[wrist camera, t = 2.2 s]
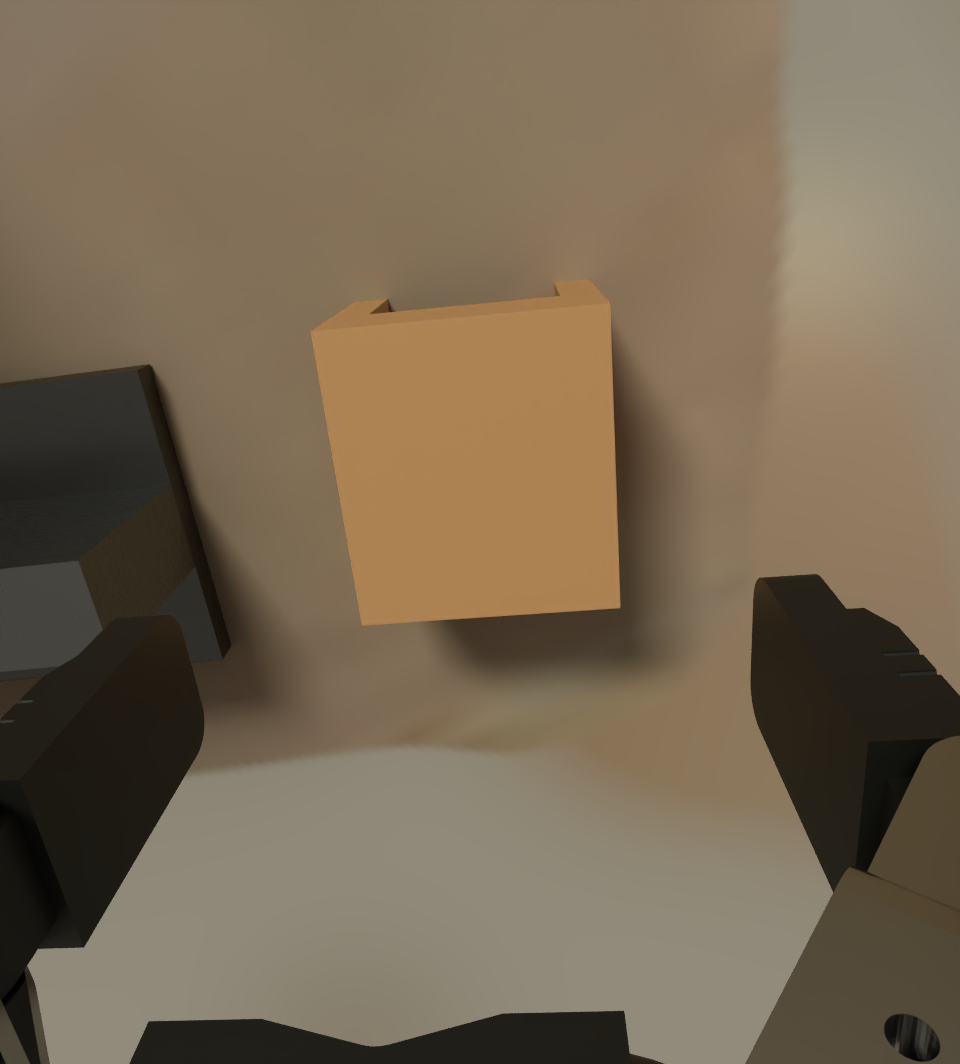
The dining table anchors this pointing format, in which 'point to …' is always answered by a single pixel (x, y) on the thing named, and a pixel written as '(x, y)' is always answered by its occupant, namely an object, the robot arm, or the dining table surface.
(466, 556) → the block
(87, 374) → the rail
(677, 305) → the dining table surface
